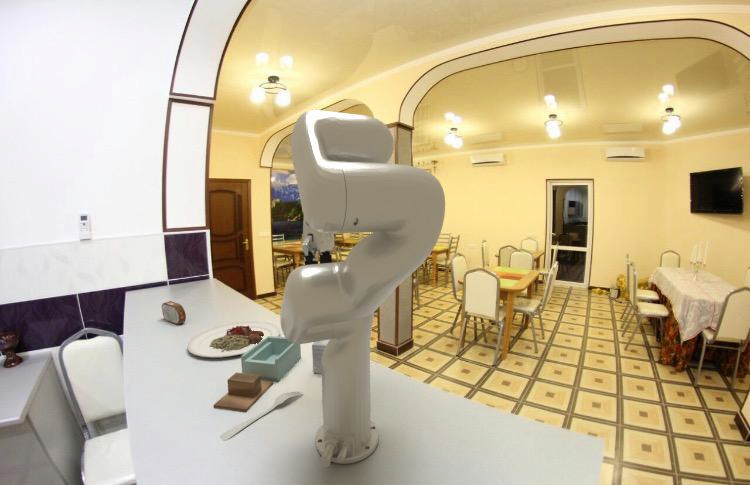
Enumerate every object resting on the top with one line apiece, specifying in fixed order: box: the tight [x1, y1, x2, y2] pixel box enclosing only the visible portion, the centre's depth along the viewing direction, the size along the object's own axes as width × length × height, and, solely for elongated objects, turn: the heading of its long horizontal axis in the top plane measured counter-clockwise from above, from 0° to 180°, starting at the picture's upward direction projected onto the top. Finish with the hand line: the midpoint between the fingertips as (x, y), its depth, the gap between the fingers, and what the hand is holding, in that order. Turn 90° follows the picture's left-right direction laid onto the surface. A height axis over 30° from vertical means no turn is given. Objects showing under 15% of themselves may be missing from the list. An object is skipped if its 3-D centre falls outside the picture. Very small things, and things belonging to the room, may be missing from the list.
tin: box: [161, 300, 187, 325], centre depth 131 cm, size 15×3×8 cm, turn 58°
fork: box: [219, 391, 305, 442], centre depth 72 cm, size 3×21×3 cm, turn 141°
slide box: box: [240, 336, 302, 383], centre depth 92 cm, size 14×11×6 cm
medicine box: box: [311, 339, 330, 374], centre depth 92 cm, size 8×4×9 cm, turn 168°
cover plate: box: [213, 372, 274, 413], centre depth 79 cm, size 12×9×5 cm
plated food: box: [187, 321, 281, 358], centre depth 112 cm, size 30×30×3 cm
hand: (319, 273), depth 80 cm, fingers open, 9 cm apart
